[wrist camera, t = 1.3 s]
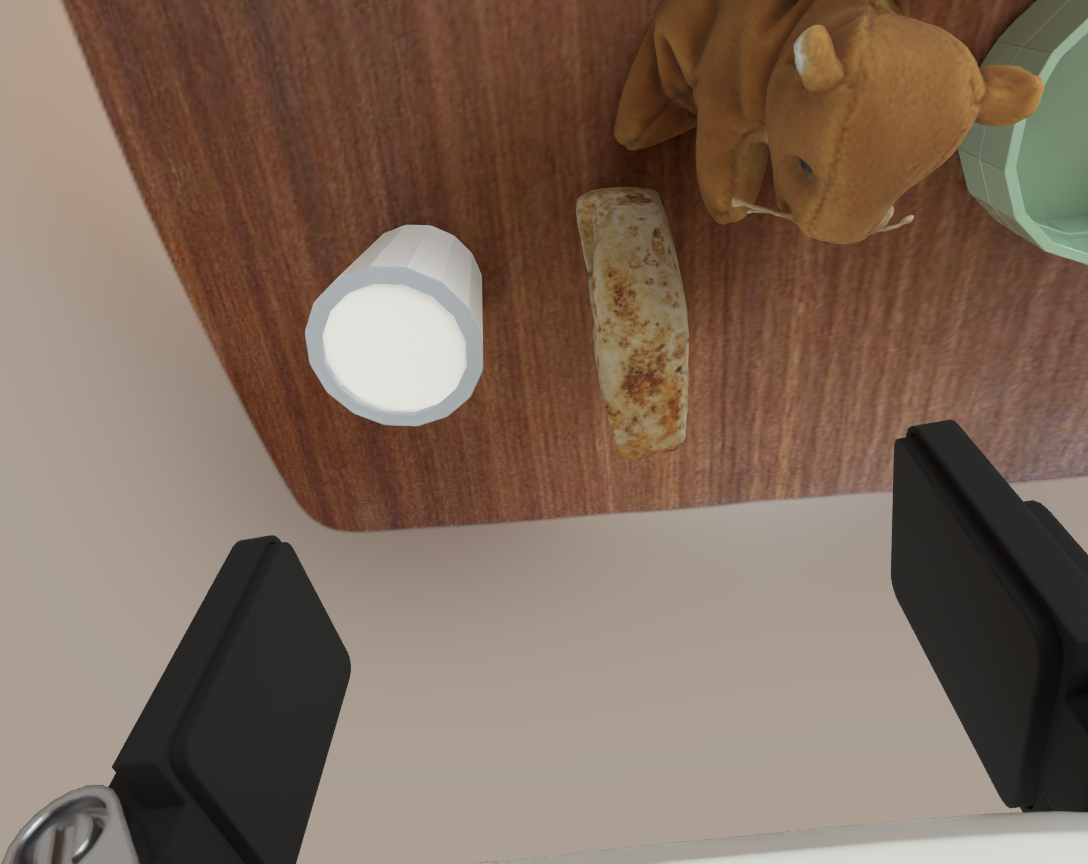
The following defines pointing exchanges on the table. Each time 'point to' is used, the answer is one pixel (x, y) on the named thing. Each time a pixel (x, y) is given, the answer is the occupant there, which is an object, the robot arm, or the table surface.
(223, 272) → the table surface
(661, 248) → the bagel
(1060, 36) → the green bowl
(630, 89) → the stuffed squirrel
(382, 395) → the white round jar
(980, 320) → the table surface
